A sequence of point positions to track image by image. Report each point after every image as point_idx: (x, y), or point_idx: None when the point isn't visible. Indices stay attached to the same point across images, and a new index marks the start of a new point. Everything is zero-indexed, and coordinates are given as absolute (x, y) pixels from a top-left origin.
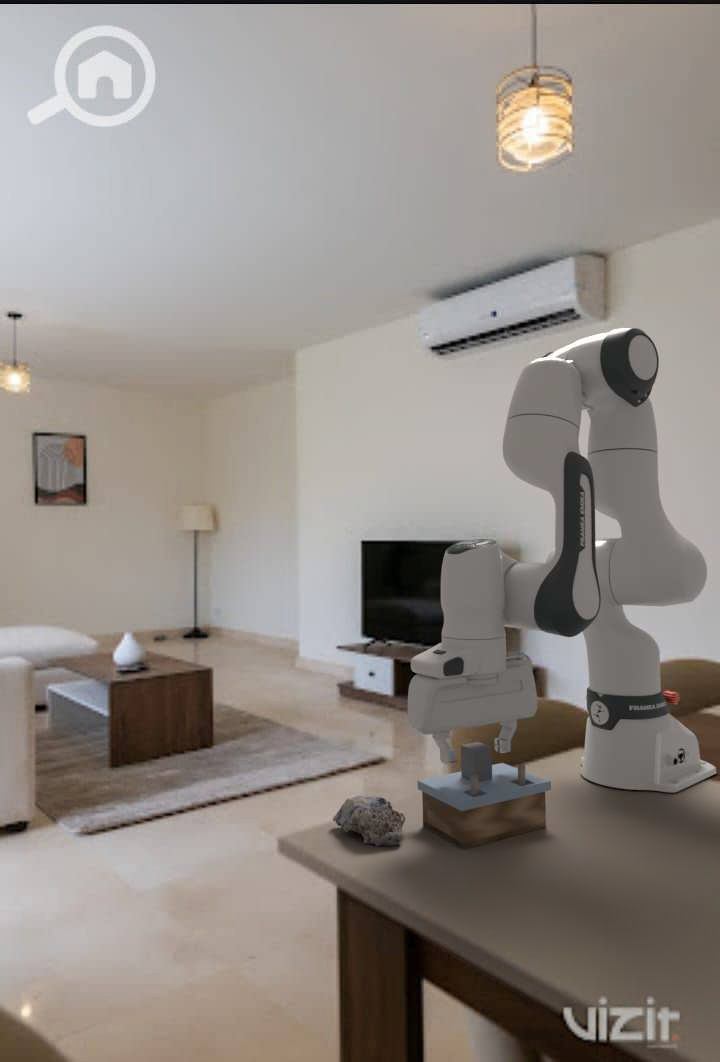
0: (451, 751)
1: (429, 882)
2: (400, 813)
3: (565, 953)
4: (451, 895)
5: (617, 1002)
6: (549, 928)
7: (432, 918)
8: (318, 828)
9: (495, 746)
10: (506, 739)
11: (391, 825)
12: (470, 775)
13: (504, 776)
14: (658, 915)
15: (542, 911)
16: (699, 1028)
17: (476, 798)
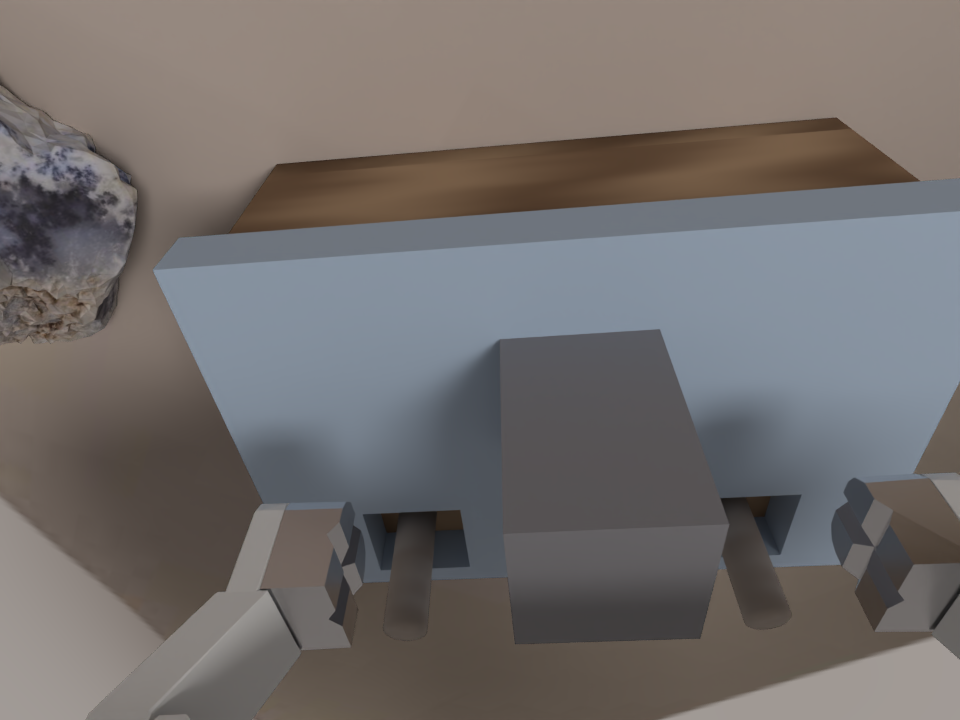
0: (303, 644)
1: (169, 520)
2: (76, 291)
3: (336, 715)
4: (209, 573)
5: None
6: (353, 681)
7: (138, 613)
8: None
9: (869, 510)
10: (937, 632)
11: (31, 333)
12: (385, 622)
13: (746, 438)
14: (561, 707)
15: (375, 654)
16: None
17: (386, 581)
